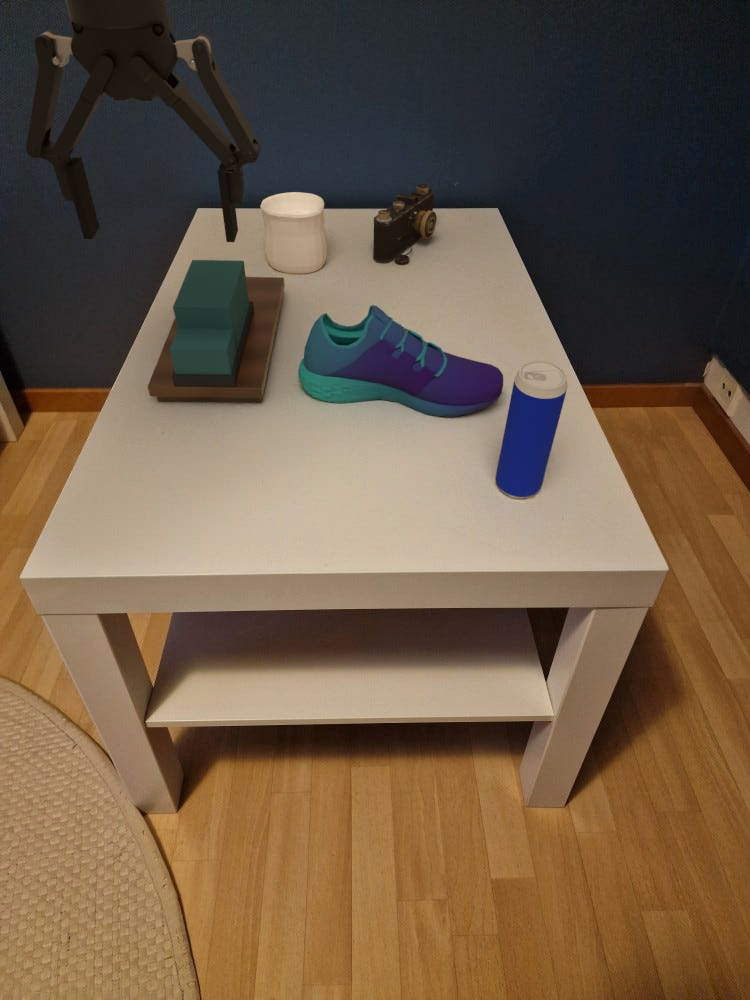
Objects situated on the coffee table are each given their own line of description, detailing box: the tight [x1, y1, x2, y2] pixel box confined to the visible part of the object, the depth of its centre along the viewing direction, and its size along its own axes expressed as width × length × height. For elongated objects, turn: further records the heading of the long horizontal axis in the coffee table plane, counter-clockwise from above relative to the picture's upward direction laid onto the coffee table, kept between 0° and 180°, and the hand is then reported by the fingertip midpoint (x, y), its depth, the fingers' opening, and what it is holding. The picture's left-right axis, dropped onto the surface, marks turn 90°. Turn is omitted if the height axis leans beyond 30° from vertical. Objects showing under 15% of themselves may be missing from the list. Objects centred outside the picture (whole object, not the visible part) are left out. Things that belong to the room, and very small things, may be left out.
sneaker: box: [297, 304, 504, 418], centre depth 85 cm, size 10×26×12 cm, turn 81°
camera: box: [372, 183, 438, 266], centre depth 116 cm, size 16×7×8 cm, turn 148°
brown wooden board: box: [147, 276, 286, 404], centre depth 95 cm, size 28×14×3 cm, turn 0°
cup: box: [259, 191, 328, 275], centre depth 110 cm, size 10×10×10 cm
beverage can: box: [494, 360, 568, 499], centre depth 72 cm, size 5×5×15 cm
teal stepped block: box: [170, 259, 254, 387], centre depth 88 cm, size 18×8×8 cm, turn 0°
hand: (162, 235), depth 67 cm, fingers open, 13 cm apart
